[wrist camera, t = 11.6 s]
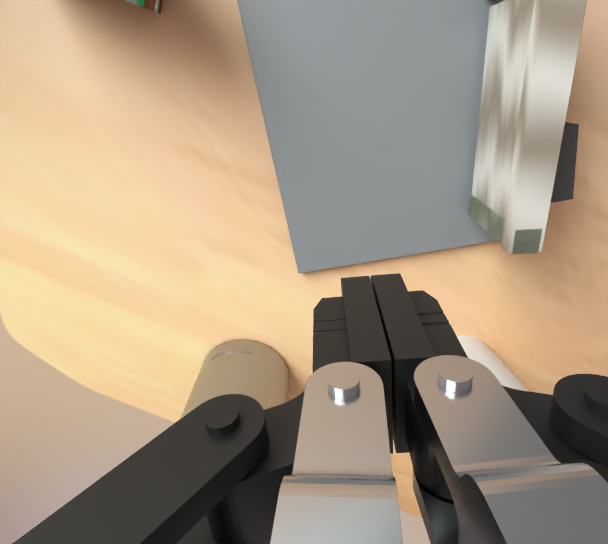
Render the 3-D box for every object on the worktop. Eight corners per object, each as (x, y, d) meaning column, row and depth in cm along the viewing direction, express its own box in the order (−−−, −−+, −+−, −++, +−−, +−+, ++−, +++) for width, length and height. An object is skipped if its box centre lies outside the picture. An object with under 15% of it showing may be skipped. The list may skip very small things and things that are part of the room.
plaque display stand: (535, 230, 36) (618, 288, 26) (299, 269, 38) (292, 337, 28) (548, -85, 27) (684, -183, 17) (237, -9, 29) (194, -54, 19)
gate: (483, 7, 28) (548, -21, 20) (514, 4, 27) (591, -25, 20) (464, 213, 34) (508, 254, 26) (489, 212, 34) (541, 252, 26)
